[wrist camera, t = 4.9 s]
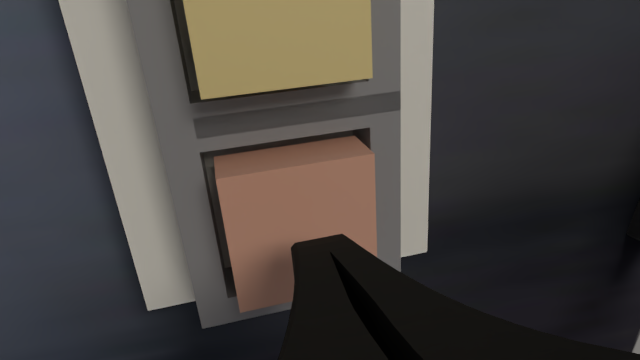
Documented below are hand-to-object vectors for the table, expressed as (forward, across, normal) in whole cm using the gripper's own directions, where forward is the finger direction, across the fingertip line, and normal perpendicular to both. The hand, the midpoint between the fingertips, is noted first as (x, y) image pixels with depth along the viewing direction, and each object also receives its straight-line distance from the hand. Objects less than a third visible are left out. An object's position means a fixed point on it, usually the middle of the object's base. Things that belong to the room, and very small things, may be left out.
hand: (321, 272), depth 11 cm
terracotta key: (+4, 0, 0) cm, 4 cm away
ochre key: (+4, 0, -6) cm, 7 cm away
